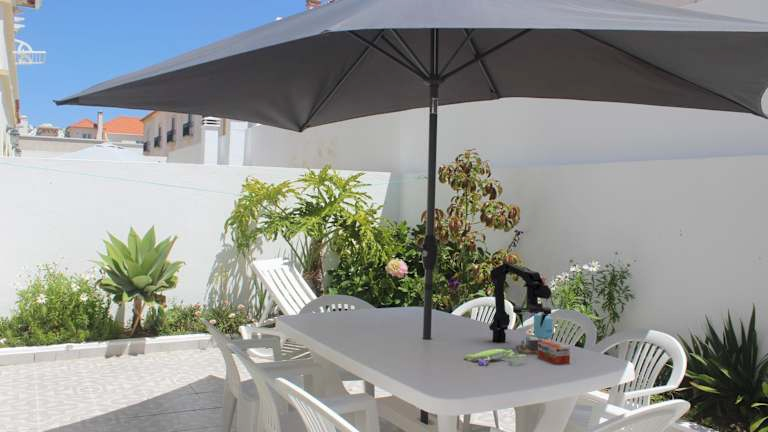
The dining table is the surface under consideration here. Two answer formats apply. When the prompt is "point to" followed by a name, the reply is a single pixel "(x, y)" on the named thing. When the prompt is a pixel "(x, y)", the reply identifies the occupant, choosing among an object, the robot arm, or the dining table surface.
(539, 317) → the data package
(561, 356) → the medicine box
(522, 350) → the pin tray
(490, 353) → the figurine
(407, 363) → the dining table surface
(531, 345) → the drive
